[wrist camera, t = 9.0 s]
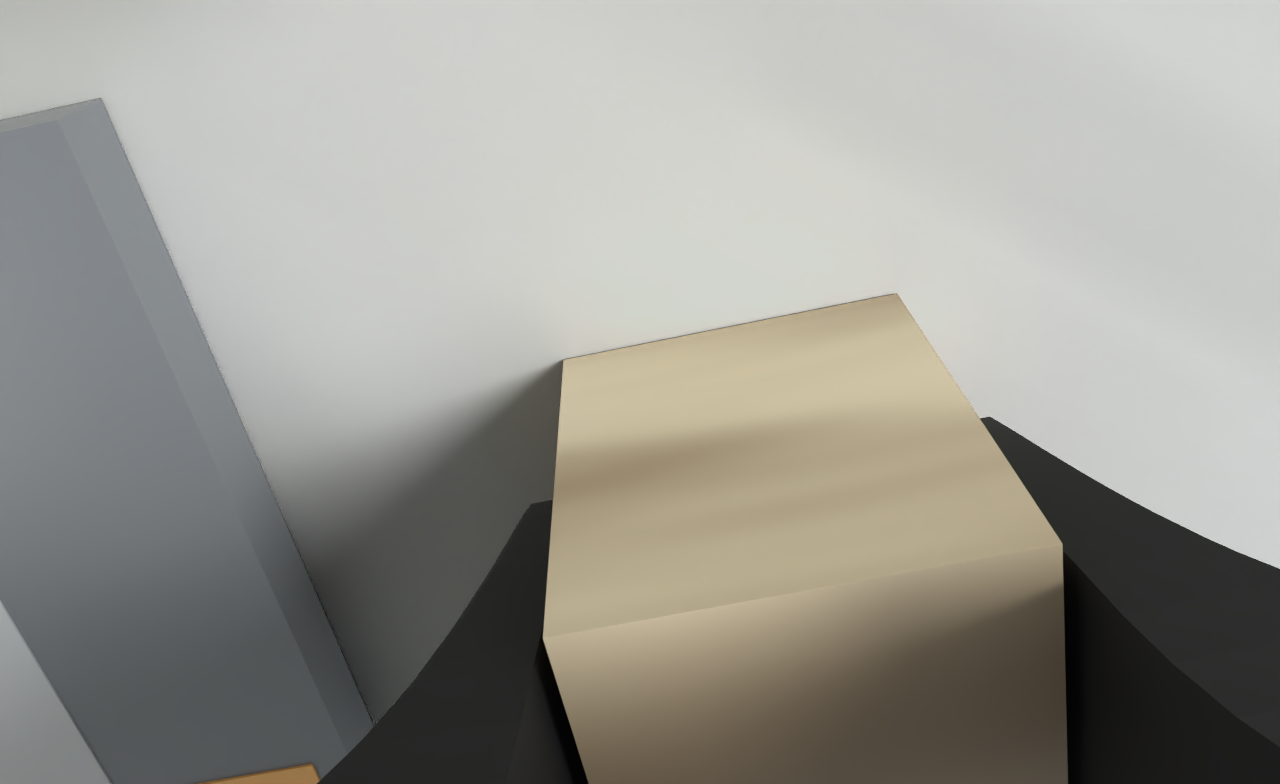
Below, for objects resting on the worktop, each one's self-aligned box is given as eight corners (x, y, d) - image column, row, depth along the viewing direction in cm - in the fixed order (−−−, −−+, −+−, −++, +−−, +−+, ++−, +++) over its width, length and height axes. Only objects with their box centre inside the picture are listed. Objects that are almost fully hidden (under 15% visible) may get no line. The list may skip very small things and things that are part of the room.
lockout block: (923, 565, 14) (1069, 892, 10) (631, 618, 14) (645, 961, 10) (896, 292, 12) (1062, 544, 8) (563, 359, 13) (543, 638, 8)
